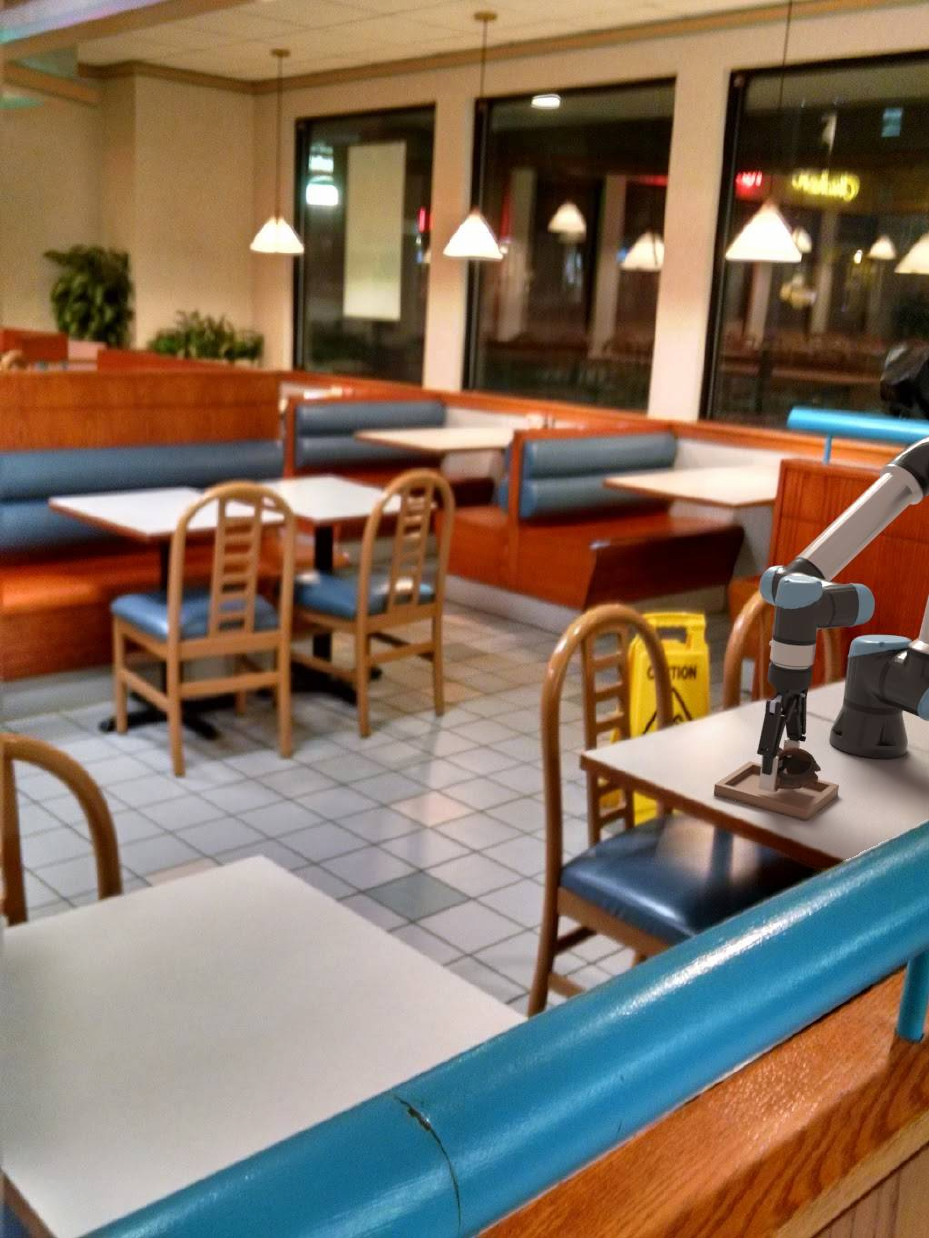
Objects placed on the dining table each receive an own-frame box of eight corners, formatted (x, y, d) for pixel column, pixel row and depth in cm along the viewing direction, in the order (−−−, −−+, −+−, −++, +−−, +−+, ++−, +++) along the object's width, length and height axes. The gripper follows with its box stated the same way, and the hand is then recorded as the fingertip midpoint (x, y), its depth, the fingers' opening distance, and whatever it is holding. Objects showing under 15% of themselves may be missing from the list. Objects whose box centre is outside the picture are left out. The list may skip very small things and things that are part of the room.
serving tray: (748, 771, 231) (749, 761, 231) (837, 795, 221) (839, 784, 221) (713, 794, 219) (714, 784, 219) (806, 821, 209) (807, 810, 209)
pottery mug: (833, 791, 218) (831, 761, 213) (794, 820, 215) (792, 790, 210) (784, 755, 227) (782, 725, 221) (746, 782, 224) (743, 752, 218)
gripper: (794, 647, 225) (781, 760, 230) (745, 672, 208) (733, 794, 213) (834, 655, 221) (820, 770, 226) (787, 681, 203) (773, 805, 209)
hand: (777, 781), depth 220 cm, fingers closed on pottery mug, 9 cm apart
